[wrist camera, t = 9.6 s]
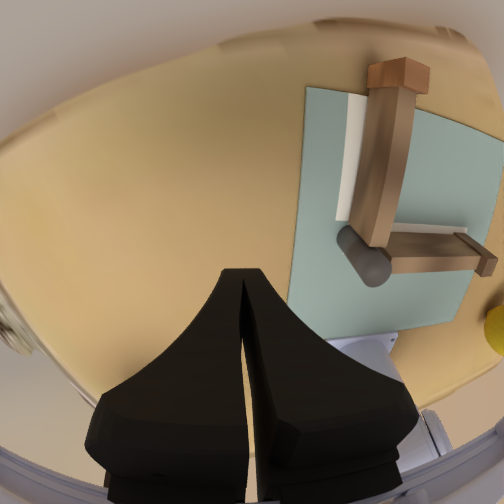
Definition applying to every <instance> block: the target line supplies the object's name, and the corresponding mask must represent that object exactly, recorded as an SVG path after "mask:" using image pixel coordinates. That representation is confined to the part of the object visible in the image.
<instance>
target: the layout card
mask: <svg viewBox="0 0 504 504" xmlns="http://www.w3.org/2000/svg"><path fill="white" fill-rule="evenodd" d="M367 106H368V97H367V96H362V95H357V94H352V93H346V92H340V91H334V90H327V89H320V88H312V87H306V95H305V114H304V131H303V146H302V159H301V172H300V184H299V196H298V207H297V217H296V227H295V237H294V246H293V255H292V264H291V273H290V281H289V289H288V297H287V305H288V306H289V308H290V309H291V310H292V311H293V312H294V313H295V314H296V315H297V316H298V317H299V318H300V319H301V320H302V321H303V322H304V323H305V324H306V325H307V326H308V327H309V328H310V329H312V330H313V331H314V332H315V333H316V334H317V335H319V336H320V337H321V338H323V339H330V338H341V337H351V336H360V335H369V334H377V333H385V332H392V331H399V330H406V329H412V328H418V327H424V326H430V325H435V324H440V323H446V322H451V321H453V319H454V317H455V315H456V313H457V311H458V308H459V306H460V304H461V302H462V300H463V298H464V295H465V293H466V291H467V288H468V286H469V284H470V281H471V279H472V276H473V274H474V270H462V271H445V272H426V273H404V274H391V275H390V277H389V279H388V280H387V281H386V282H385V283H384V284H382V285H381V286H379V287H374V288H371V287H368V286H366V285H365V284H364V283H363V281H362V280H361V278H360V277H359V275H358V274H357V272H356V271H355V269H354V268H353V266H352V265H351V263H350V262H349V260H348V259H347V257H346V256H345V255H344V253H343V252H342V250H341V249H340V247H339V246H338V244H337V241H336V238H337V234H338V232H339V231H340V230H341V229H342V228H343V227H345V226H347V225H350V224H349V223H348V220H349V215H350V210H351V205H352V200H353V195H354V190H355V185H356V179H357V174H358V168H359V162H360V156H361V150H362V143H363V137H364V129H365V122H366V114H367ZM503 165H504V142H502V141H500V140H498V139H495V138H493V137H491V136H489V135H487V134H484V133H482V132H480V131H477V130H475V129H472V128H470V127H467V126H465V125H462V124H460V123H457V122H454V121H452V120H449V119H446V118H443V117H440V116H437V115H434V114H431V113H428V112H425V111H422V110H418V109H415V113H414V121H413V128H412V135H411V141H410V148H409V153H408V159H407V164H406V169H405V174H404V179H403V184H402V189H401V193H400V197H399V202H398V206H397V210H396V214H395V218H394V222H393V225H392V229H391V232H417V233H439V234H454V232H460V233H466V234H467V235H469V236H470V237H471V238H473V239H474V240H475V241H477V242H478V243H479V244H480V245H482V246H484V243H485V240H486V237H487V233H488V230H489V227H490V223H491V220H492V216H493V212H494V208H495V204H496V200H497V196H498V191H499V187H500V182H501V177H502V171H503Z"/></svg>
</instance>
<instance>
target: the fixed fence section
mask: <svg viewBox="0 0 504 504" xmlns="http://www.w3.org/2000/svg"><path fill="white" fill-rule="evenodd" d="M336 241H337V244H338V246H339V247H340V249H341V250H342V252H343V253H344V255H345V256H346V257H347V259H348V260H349V262H350V263H351V265H352V266H353V268H354V269H355V271H356V272H357V274H358V275H359V277H360V278H361V280H362V281H363V283H364V284H365V285H366V286H368V287H371V288H374V287H379V286H381V285H382V284H384V283H385V282H386V281H387V280H388V279H389V277H390V275H391V274H404V273H426V272H445V271H462V270H474V271H475V272H476V273H477V274H478V275H479V276H480V277H487V276H492V273H493V271H494V268H495V266H496V263H497V261H498V258H497V257H496V256H494V255H493V254H492V253H491V252H489V251H488V250H487V249H486V248H484V247H483V246H482V245H480V244H479V243H478V242H477V241H475V240H474V239H473V238H471V237H470V236H469V235H467V234H466V233H460V232H454V234H439V233H417V232H391V233H390V236H389V240H388V243H387V247H386V248H384V247H369V246H368V244H367V243H366V242H365V241H364V240H363V239H362V238H361V237H360V235H359V234H358V233H357V232H356V231H355V230H354V229H353V228H352V227H351V226H350V225H347V226H345V227H343V228H342V229H341V230H340V231H339V232H338V234H337V238H336Z"/></svg>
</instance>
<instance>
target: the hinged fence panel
mask: <svg viewBox="0 0 504 504" xmlns="http://www.w3.org/2000/svg"><path fill="white" fill-rule="evenodd" d="M429 74H430V67H428V66H426V65H423V64H421V63H419V62H416V61H414V60H412V59H409V58H407V57H404V58H398V59H394V60H389V61H384V62H380V63H376V64H372V65H369V66H368V78H367V88H369V97H368V106H367V114H366V122H365V129H364V137H363V143H362V150H361V156H360V162H359V168H358V174H357V179H356V185H355V190H354V195H353V200H352V205H351V210H350V215H349V220H348V223H349V224H350V226H351V227H352V228H353V229H354V230H355V231H356V232H357V233H358V234H359V235H360V237H361V238H362V239H363V240H364V241H365V242H366V243H367V244H368V246H369V247H384V248H386V247H387V243H388V240H389V236H390V233H391V229H392V225H393V222H394V218H395V214H396V210H397V206H398V202H399V197H400V193H401V189H402V184H403V179H404V174H405V169H406V164H407V159H408V153H409V148H410V141H411V135H412V128H413V121H414V113H415V104H416V95H417V94H428V88H429Z"/></svg>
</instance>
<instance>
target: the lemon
mask: <svg viewBox="0 0 504 504" xmlns="http://www.w3.org/2000/svg"><path fill="white" fill-rule="evenodd" d="M484 333H485V337H486V340H487V342H488V343H489V345H490V346H491V347H492V349H493V350H494V351H496V352H497V353H498V354H500V355H502V356H504V305H501V306H497V307H496V308H494V309H490V310H489V311H488V312H487V318H486V320H485V325H484Z"/></svg>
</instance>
